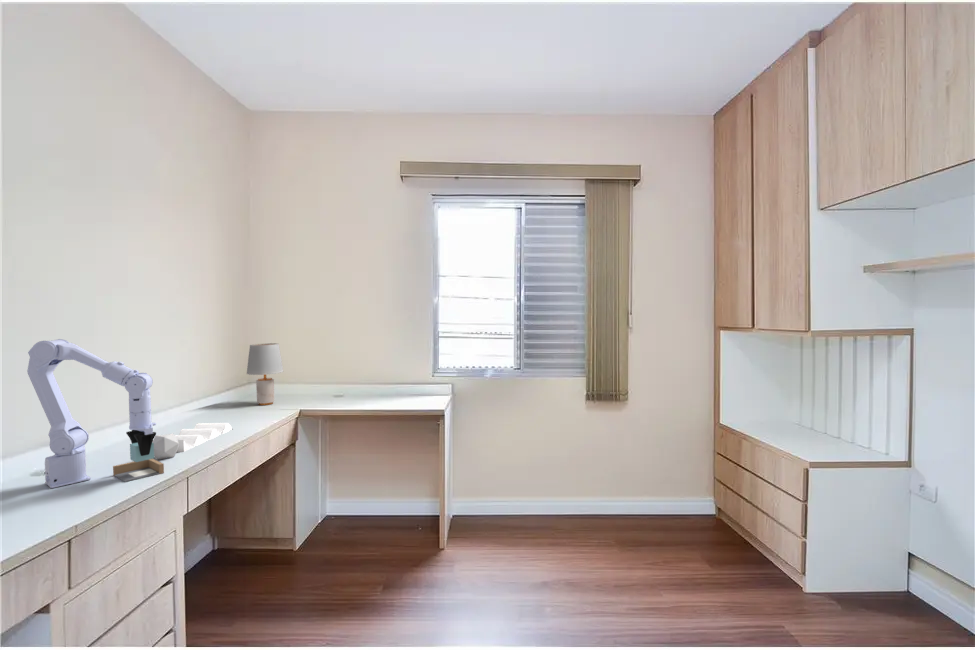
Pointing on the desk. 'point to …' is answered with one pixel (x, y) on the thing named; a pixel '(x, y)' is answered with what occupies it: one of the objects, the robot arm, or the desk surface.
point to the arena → (138, 470)
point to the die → (165, 446)
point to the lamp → (264, 369)
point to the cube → (136, 454)
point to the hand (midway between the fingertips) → (141, 453)
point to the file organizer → (200, 434)
